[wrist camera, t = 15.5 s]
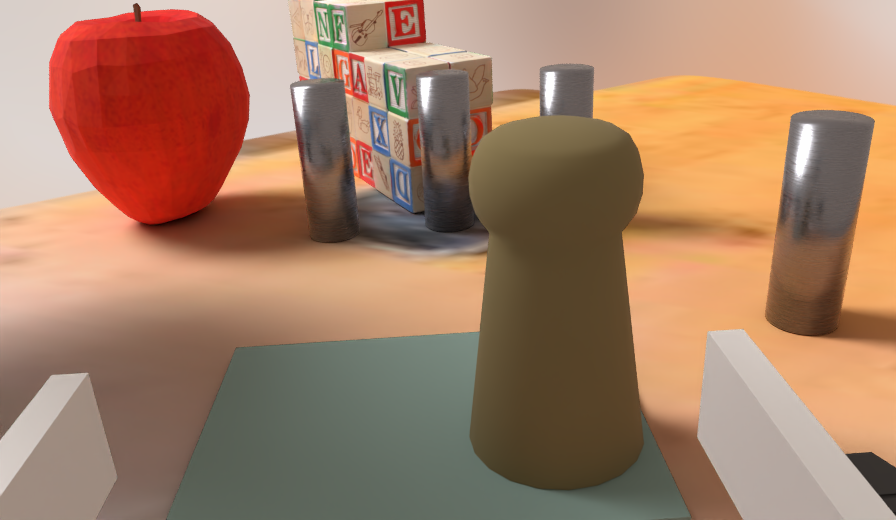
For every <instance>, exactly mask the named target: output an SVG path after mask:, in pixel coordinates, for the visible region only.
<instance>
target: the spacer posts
mask: <svg viewBox="0 0 896 520" xmlns="http://www.w3.org/2000/svg"><path fill="white" fill-rule="evenodd" d="M593 83H594V67H592V66H589V65H583V64H558V65H550V66H545V67H542V68H540V116H554V115H565V116H579V117H586V118H593ZM290 88H291V95H292V103H293V111H294V119H295V126H296V134H297V141H298V149H299V156H300V164H301V171H302V179H303V187H304V194H305V202H306V209H307V217H308V224H309V232H310V237H311V238H312V239H313V240H315V241H319V242H339V241H344V240H348V239H351V238H353V237H355V236H356V235H358V234H359V232H360V228H359V218H358V209H357V199H356V189H355V180H354V170H353V161H352V151H351V141H350V132H349V122H348V112H347V103H346V93H345V83H344V80H342V79H337V78H317V79H308V80H302V81H298V82H295V83H292V84H291V85H290ZM416 89H417V104H418V119H419V134H420V149H421V164H422V179H423V194H424V209H425V224H426V226H427V227H428V228H429V229H431V230H435V231H441V232H453V231H460V230H464V229H467V228H469V227H471V226H472V225H473V224H474V208H473V204H472V201H471V198H470V194H469V179H468V176H469V171H470V166H471V161H472V149H471V123H470V97H469V73H468V72H467V71H463V70H454V69H444V70H432V71H426V72H422V73H419V74H417V75H416ZM874 122H875V121H874V119H872V118H871V117H869V116H866V115H862V114H858V113H853V112H846V111H834V110H814V111H804V112H799V113H796V114H793V115H792V116H791V122H790V129H789V137H788V144H787V152H786V160H785V167H784V175H783V182H782V190H781V197H780V205H779V212H778V220H777V227H776V235H775V243H774V250H773V258H772V265H771V273H770V280H769V288H768V295H767V303H766V310H765V317H766V319H767V320H768V321H769V322H770V323H771V324H772V325H774V326H775V327H777V328H779V329H782V330H785V331H788V332H791V333H796V334H801V335H823V334H827V333H831V332H833V331H834V330H836V329H837V327H838V325H839V319H840V314H841V308H842V303H843V297H844V291H845V286H846V280H847V274H848V269H849V263H850V257H851V252H852V246H853V241H854V235H855V229H856V224H857V218H858V212H859V207H860V201H861V196H862V190H863V184H864V179H865V173H866V167H867V162H868V156H869V150H870V145H871V139H872V134H873V128H874Z"/></svg>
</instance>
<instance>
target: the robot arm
mask: <svg viewBox="0 0 896 520" xmlns="http://www.w3.org/2000/svg"><path fill="white" fill-rule="evenodd" d="M697 438H698V440H699V441H700V443H701V445H702V447H703V449H704V450H705V452H706V454H707V456H708V458H709V459H710V461H711V463H712V465H713V467H714V468H715V470H716V472H717V474H718V476H719V477H720V479H721V481H722V483H723V485H724V486H725V488H726V490H727V492H728V494H729V495H730V497H731V499H732V501H733V503H734V504H735V506H736V508H737V510H738V512H739V513H740V515H741V517H742V519H743V520H896V468H895V467H894V466H892V465H891V464H889V463H888V462H886V461H884V460H883V459H881V458H880V457H878V456H877V455H875V454H874V453H872V452H866V453H852V454H845V453H844V452H843V451H842V450H841V448H840V447H839V446H838V445H837V444H836V442H835V441H834V440H833V439H832V437H831V436H830V435H829V434H828V433H827V431H826V430H825V429H824V428H823V426H822V425H821V424H820V423H819V421H818V420H817V419H816V418H815V417H814V415H813V414H812V413H811V412H810V410H809V409H808V408H807V407H806V406H805V404H804V403H803V402H802V401H801V399H800V398H799V397H798V396H797V394H796V393H795V392H794V391H793V390H792V388H791V387H790V386H789V385H788V383H787V382H786V381H785V380H784V379H783V377H782V376H781V375H780V374H779V372H778V371H777V370H776V369H775V368H774V366H773V365H772V364H771V363H770V361H769V360H768V359H767V358H766V356H765V355H764V354H763V353H762V352H761V350H760V349H759V348H758V347H757V345H756V344H755V343H754V342H753V341H752V339H751V338H750V337H749V336H748V334H747V333H746V332H745V331H744V330H743V329H737V330H722V331H708V333H707V343H706V353H705V363H704V373H703V383H702V393H701V404H700V414H699V424H698V434H697ZM117 478H118V477H117V473H116V470H115V466H114V463H113V459H112V455H111V452H110V448H109V445H108V441H107V438H106V434H105V430H104V427H103V423H102V420H101V416H100V413H99V409H98V406H97V402H96V398H95V395H94V391H93V388H92V384H91V381H90V377H89V373H76V374H61V375H51V376H50V378H49V379H48V380H47V381H46V383H45V384H44V385H43V386H42V388H41V389H40V390H39V392H38V393H37V394H36V395H35V397H34V398H33V399H32V400H31V402H30V403H29V404H28V405H27V407H26V408H25V409H24V411H23V412H22V413H21V414H20V416H19V417H18V418H17V419H16V421H15V422H14V423H13V424H12V426H11V427H10V428H9V430H8V431H7V432H6V433H5V435H4V436H3V437H2V438H1V440H0V520H96V518H97V516H98V514H99V512H100V510H101V508H102V506H103V505H104V503H105V501H106V499H107V497H108V495H109V493H110V491H111V489H112V487H113V485H114V484H115V482H116V480H117Z"/></svg>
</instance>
